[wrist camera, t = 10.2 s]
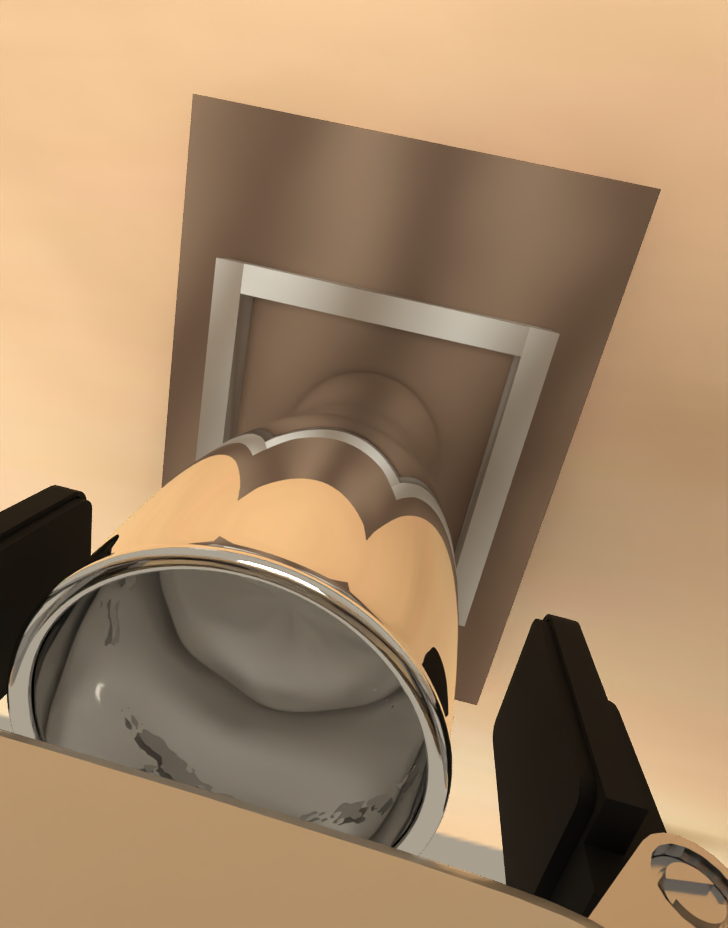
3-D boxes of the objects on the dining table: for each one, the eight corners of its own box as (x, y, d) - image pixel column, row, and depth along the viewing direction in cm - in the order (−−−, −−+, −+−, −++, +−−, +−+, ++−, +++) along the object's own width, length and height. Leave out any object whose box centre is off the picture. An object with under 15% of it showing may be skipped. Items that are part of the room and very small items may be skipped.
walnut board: (644, 196, 19) (680, 181, 16) (474, 682, 26) (479, 730, 24) (210, 107, 20) (172, 78, 17) (166, 602, 27) (134, 638, 24)
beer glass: (288, 526, 23) (58, 901, 9) (268, 364, 21) (-76, 534, 7) (451, 524, 22) (470, 945, 8) (447, 354, 20) (466, 531, 6)
